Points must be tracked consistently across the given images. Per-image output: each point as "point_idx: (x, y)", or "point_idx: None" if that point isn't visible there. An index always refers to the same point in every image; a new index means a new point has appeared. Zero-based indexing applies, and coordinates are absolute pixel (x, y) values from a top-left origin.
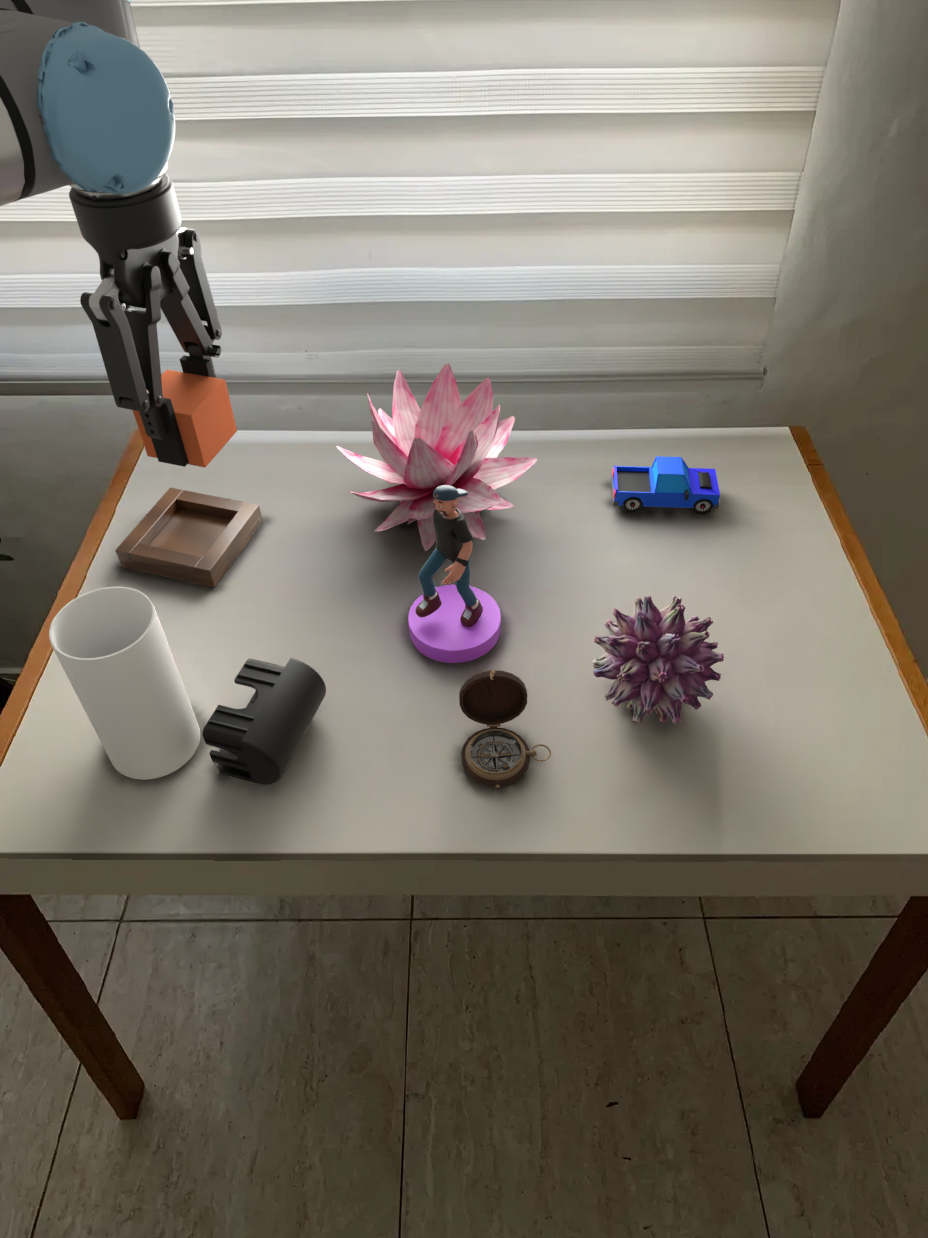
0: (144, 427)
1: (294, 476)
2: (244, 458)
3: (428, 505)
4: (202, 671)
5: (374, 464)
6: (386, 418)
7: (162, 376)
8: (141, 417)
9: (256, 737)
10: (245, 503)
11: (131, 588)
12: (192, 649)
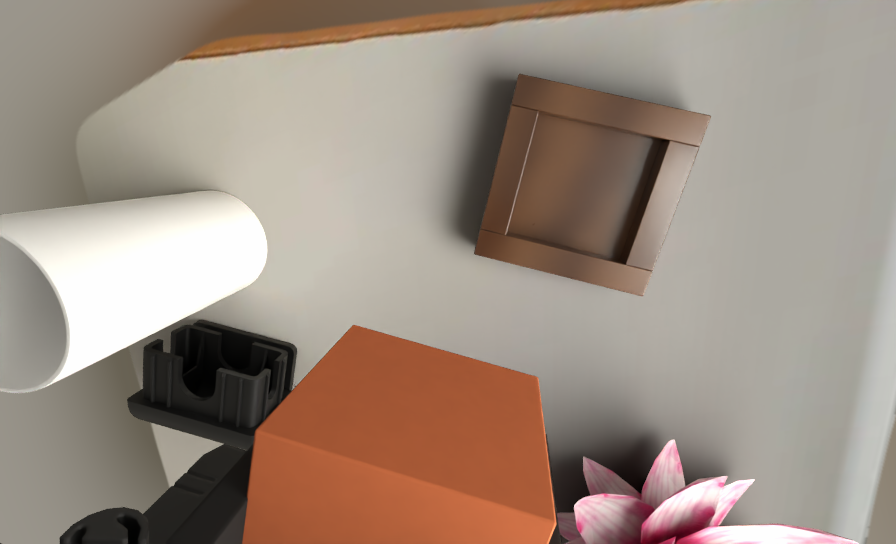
0: (184, 474)
1: (760, 314)
2: (836, 214)
3: None
4: (326, 268)
5: (705, 496)
6: (831, 538)
7: (487, 516)
8: (150, 508)
9: (140, 413)
10: (648, 272)
11: (68, 338)
12: (359, 246)
